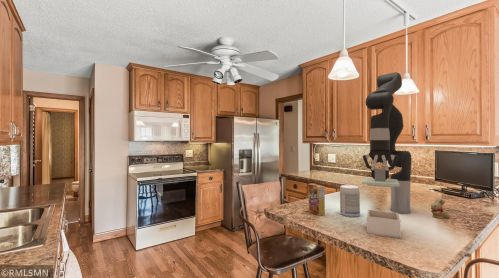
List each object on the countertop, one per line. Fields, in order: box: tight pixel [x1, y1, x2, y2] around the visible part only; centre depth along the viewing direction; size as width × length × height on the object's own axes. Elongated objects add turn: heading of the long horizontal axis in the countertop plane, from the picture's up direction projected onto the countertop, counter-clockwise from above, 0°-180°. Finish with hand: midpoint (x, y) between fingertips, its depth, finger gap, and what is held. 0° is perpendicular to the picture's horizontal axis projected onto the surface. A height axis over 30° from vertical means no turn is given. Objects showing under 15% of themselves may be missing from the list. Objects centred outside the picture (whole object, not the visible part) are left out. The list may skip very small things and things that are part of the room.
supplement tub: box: [339, 184, 361, 218], centre depth 129 cm, size 10×10×15 cm
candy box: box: [307, 183, 326, 217], centre depth 131 cm, size 9×4×15 cm, turn 23°
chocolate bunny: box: [430, 197, 451, 220], centre depth 124 cm, size 6×8×10 cm
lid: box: [361, 167, 400, 189], centre depth 106 cm, size 14×14×7 cm
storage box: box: [366, 209, 402, 239], centre depth 105 cm, size 12×12×7 cm
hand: (379, 178), depth 106 cm, fingers closed on lid, 4 cm apart
